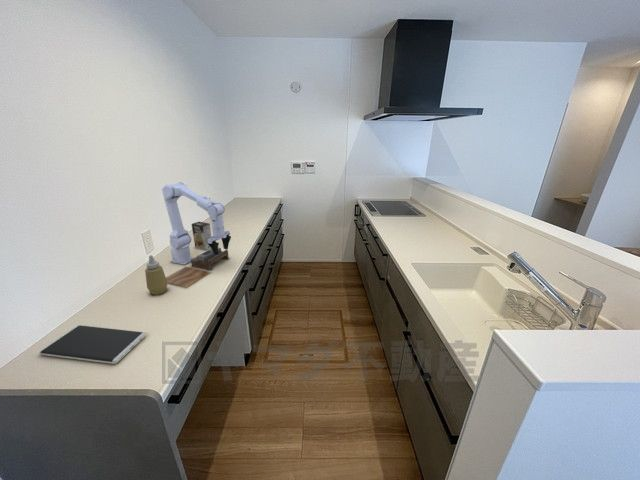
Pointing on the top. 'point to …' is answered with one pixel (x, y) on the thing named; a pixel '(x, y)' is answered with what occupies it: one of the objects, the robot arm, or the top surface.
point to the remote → (207, 255)
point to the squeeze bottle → (155, 277)
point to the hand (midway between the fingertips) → (221, 251)
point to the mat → (186, 277)
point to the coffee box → (201, 235)
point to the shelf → (209, 260)
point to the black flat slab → (94, 344)
